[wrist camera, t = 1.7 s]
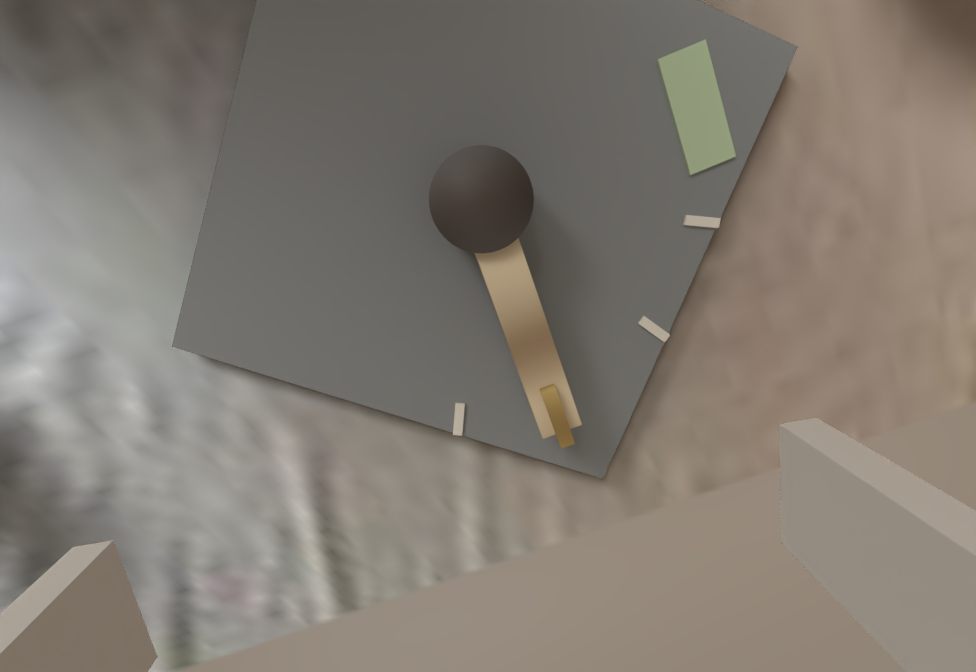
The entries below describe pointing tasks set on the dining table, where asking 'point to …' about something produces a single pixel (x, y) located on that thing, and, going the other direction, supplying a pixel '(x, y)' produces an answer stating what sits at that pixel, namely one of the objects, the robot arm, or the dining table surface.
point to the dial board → (406, 213)
